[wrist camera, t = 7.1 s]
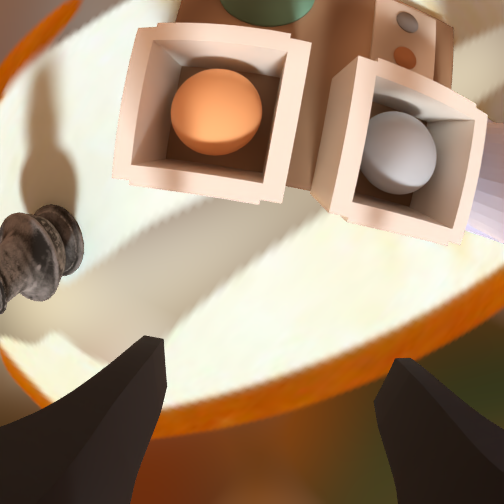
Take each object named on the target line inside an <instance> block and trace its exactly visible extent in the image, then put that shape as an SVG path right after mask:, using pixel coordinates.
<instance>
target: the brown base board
mask: <svg viewBox="0 0 504 504" xmlns="http://www.w3.org/2000/svg"><path fill="white" fill-rule="evenodd" d="M175 23H208V24H223V25H235V26H244V27H252V28H260V29H267V30H273V31H279V32H284V33H290V34H291V36H290V38H292V39H297V40H302V41H306V42H311V43H312V44H311V50H310V56H309V62H308V67H307V73H306V79H305V84H304V90H303V95H302V101H301V106H300V112H299V117H298V123H297V128H296V133H295V139H294V144H293V149H292V154H291V159H290V165H289V170H288V175H287V180H286V185H285V186H288V187H294V188H298V189H303V190H309V191H311V186H312V182H313V177H314V172H315V167H316V162H317V157H318V152H319V147H320V142H321V137H322V132H323V126H324V121H325V115H326V110H327V104H328V99H329V93H330V87H331V81H332V78H333V77H334V76H335V75H337V74H338V73H339V72H340V71H341V70H342V69H343V68H345V67H346V66H347V65H348V64H349V63H350V62H351V61H353V60H354V59H355V58H356V57H357V56H361V57H364V58H367V59H370V60H373V61H374V60H376V59H377V58H380V59H383V60H386V61H388V62H391V63H394V64H396V65H399V66H401V67H404V68H406V69H408V70H411V71H413V72H415V73H418V74H420V75H422V76H424V77H426V78H429V79H431V80H433V81H435V82H437V83H439V84H441V85H443V86H445V87H447V88H449V89H451V85H452V84H451V83H452V70H453V27H451V26H449V25H447V24H446V23H444V22H442V21H440V20H438V19H436V18H434V17H432V16H430V15H428V14H426V13H424V12H422V11H420V10H418V9H416V8H414V7H412V6H409V5H407V4H405V3H403V2H400V1H398V0H182V2H181V5H180V8H179V12H178V15H177V19H176V22H175ZM209 69H214V68H203V67H188V66H182V67H181V72H180V77H179V82H178V87H177V90H178V89H179V88H180V86H181V85H182V84H183V83H184V82H185V81H186V80H187V79H188V78H190V77H191V76H193V75H195V74H197V73H199V72H201V71H204V70H209ZM231 71H233V70H231ZM234 72H236V73H239V74H241V75H242V76H244V77H245V78H247V79H248V80H249V81H250V82H251V83H252V84H253V85H254V87H255V88H256V90H257V92H258V94H259V96H260V99H261V103H262V119H261V123H260V126H259V128H258V130H257V132H256V134H255V135H254V137H253V138H252V139H251V140H250V141H249V142H248V143H247V144H246V145H245V146H244V147H242V148H240V149H239V150H237V151H235V152H232V153H229V154H226V155H217V156H213V155H206V154H201V153H198V152H196V151H194V150H192V149H190V148H189V147H187V146H186V145H185V144H184V143H183V142H182V141H181V140H180V139H179V137H178V136H177V134H176V133H175V130H174V128H173V125H172V122H171V126H170V132H169V139H168V146H167V153H166V159H174V160H182V161H190V162H197V163H204V164H211V165H218V166H225V167H231V168H237V169H243V170H249V171H255V172H261V173H262V172H263V167H264V162H265V156H266V151H267V145H268V140H269V134H270V129H271V124H272V118H273V113H274V108H275V102H276V97H277V91H278V86H279V81H280V78H279V77H273V76H267V75H261V74H255V73H248V72H241V71H234ZM389 111H398V110H396V109H393V108H390V107H387V106H384V105H382V104H379V103H376V102H373V101H372V106H371V112H370V118H369V120H370V119H371V118H372V117H374V116H376V115H378V114H380V113H383V112H389ZM398 112H401V111H398ZM403 113H404V112H403ZM413 117H414V116H413ZM415 118H416V117H415ZM416 119H418V120H419V121H420V122H421V123H423V125H424V126H425V127H426V126H427V122H426V121H424V120H421V119H419V118H416ZM355 193H359V194H363V195H367V196H371V197H375V198H379V199H383V200H386V201H390V202H394V203H397V204H401V205H405V206H408V207H410V203H411V199H412V195H413V192H412V193H408V194H401V195H398V194H391V193H387V192H384V191H382V190H380V189H378V188H377V187H375V186H374V185H373V184H371V183H370V182H369V181H368V179H367V178H366V177H365V176H364V174H363V173H362V171H361V169H359V174H358V178H357V183H356V187H355Z"/></svg>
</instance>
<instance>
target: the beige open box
mask: <svg viewBox="0 0 504 504" xmlns="http://www.w3.org/2000/svg"><path fill="white" fill-rule="evenodd" d="M290 36H291V34H290V33H284V32H279V31H273V30H267V29H260V28H252V27H244V26H235V25H223V24H208V23H158V24H157V27H148V28H138V31H137V34H136V38H135V42H134V46H133V50H132V54H131V58H130V62H129V66H128V71H127V76H126V81H125V86H124V91H123V96H122V102H121V108H120V114H119V120H118V127H117V134H116V142H115V151H114V160H113V171H112V178H115V179H124V180H129V185H132V186H139V187H147V188H155V189H162V190H169V191H176V192H183V193H190V194H196V195H203V196H209V197H216V198H222V199H228V200H234V201H240V202H246V203H252V204H257V205H259V203H260V200H265V201H271V202H276V203H282V200H283V195H284V190H285V185H286V180H287V175H288V170H289V165H290V159H291V154H292V149H293V144H294V139H295V133H296V128H297V123H298V117H299V112H300V106H301V101H302V95H303V90H304V84H305V79H306V73H307V67H308V62H309V56H310V50H311V44H312V43H311V42H306V41H302V40H297V39H292V38H290ZM182 66H188V67H203V68H214V69H227V70H233V71H241V72H248V73H255V74H261V75H267V76H273V77H279V78H280V81H279V86H278V91H277V97H276V102H275V108H274V113H273V118H272V124H271V129H270V134H269V140H268V145H267V151H266V156H265V162H264V167H263V172H262V173H261V172H255V171H249V170H243V169H237V168H231V167H225V166H218V165H211V164H204V163H197V162H190V161H182V160H174V159H166V153H167V146H168V139H169V132H170V126H171V105H172V101H173V98H174V96H175V94H176V92H177V87H178V82H179V77H180V72H181V67H182Z"/></svg>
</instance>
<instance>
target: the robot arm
mask: <svg viewBox="0 0 504 504" xmlns="http://www.w3.org/2000/svg"><path fill="white" fill-rule="evenodd" d="M465 231H468V232H471V233H474V234H477V235H480V236H483V237H486V238H489V239H492V240H495V241H498V242H500V243H503V244H504V123H495V122H493V121H491V120H490V119H488V118H487V127H486V135H485V142H484V149H483V155H482V161H481V167H480V172H479V177H478V182H477V186H476V191H475V195H474V199H473V203H472V207H471V211H470V215H469V218H468V222H467V225H466V229H465ZM166 389H167V380H166V367H165V353H164V339H161V338H155V337H150V336H143V337H142V338H141V339H139V340H138V341H137V342H135V343H134V344H133V345H132V346H131V347H130V348H128V349H127V350H126V351H125V352H123V353H122V354H121V355H120V356H119V357H117V358H116V359H115V360H114V361H112V362H111V363H110V364H109V365H107V366H106V367H105V368H104V369H102V370H101V371H100V372H98V373H97V374H96V375H95V376H93V377H92V378H91V379H89V380H88V381H86V382H85V383H83V384H82V385H81V386H79V387H78V388H76V389H75V390H73V391H72V392H70V393H69V394H67V395H66V396H64V397H62V398H61V399H59V400H58V401H56V402H54V403H52V404H50V405H49V406H47V407H45V408H43V409H41V410H39V411H37V412H35V413H33V414H31V415H28V416H26V417H24V418H21V419H19V420H17V421H14V422H12V423H10V424H7V425H4V426H1V427H0V504H130V501H131V497H132V492H133V488H134V484H135V480H136V477H137V473H138V471H139V468H140V465H141V462H142V460H143V457H144V454H145V452H146V449H147V447H148V444H149V442H150V439H151V436H152V434H153V431H154V429H155V426H156V423H157V421H158V418H159V416H160V413H161V409H162V405H163V401H164V397H165V393H166ZM374 406H375V412H376V418H377V423H378V428H379V431H380V435H381V438H382V441H383V445H384V448H385V451H386V454H387V457H388V461H389V464H390V467H391V471H392V474H393V478H394V482H395V486H396V491H397V499H398V504H504V429H502V428H500V427H499V426H497V425H496V424H494V423H493V422H491V421H489V420H488V419H486V418H485V417H484V416H482V415H481V414H479V413H478V412H477V411H475V410H474V409H473V408H471V407H470V406H469V405H468V404H466V403H465V402H464V401H463V400H461V399H460V398H459V397H458V396H456V395H455V394H454V393H453V392H452V391H450V390H449V389H448V388H447V387H446V386H445V385H443V384H442V383H441V382H440V381H439V380H437V379H436V378H435V377H434V376H433V375H432V374H430V373H429V372H428V371H427V370H426V369H424V368H423V367H422V366H421V365H419V364H418V363H417V362H415V361H414V360H413V359H411V358H395V360H394V362H393V364H392V367H391V369H390V371H389V373H388V375H387V377H386V379H385V381H384V383H383V385H382V387H381V389H380V391H379V392H378V394H377V396H376V398H375V400H374Z"/></svg>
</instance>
